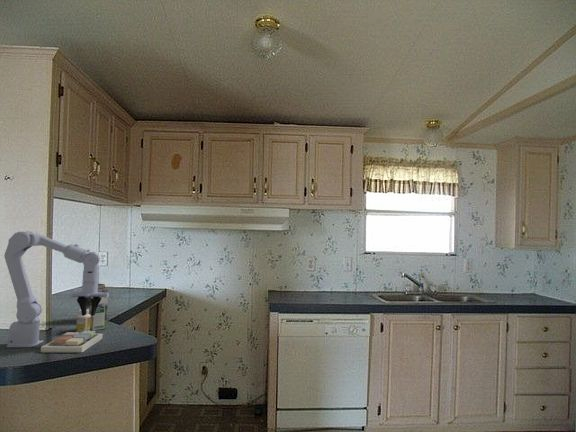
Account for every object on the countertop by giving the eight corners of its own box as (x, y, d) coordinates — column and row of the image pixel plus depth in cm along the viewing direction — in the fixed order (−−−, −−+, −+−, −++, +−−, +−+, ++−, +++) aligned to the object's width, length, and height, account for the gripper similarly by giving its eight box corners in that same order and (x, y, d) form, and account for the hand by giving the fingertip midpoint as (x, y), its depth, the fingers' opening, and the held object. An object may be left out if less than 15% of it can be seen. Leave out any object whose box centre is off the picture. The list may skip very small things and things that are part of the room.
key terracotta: (54, 343, 144) (54, 339, 144) (60, 340, 148) (60, 336, 148) (66, 344, 144) (66, 339, 144) (71, 340, 148) (72, 336, 148)
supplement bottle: (86, 329, 172) (87, 307, 173) (91, 331, 169) (93, 309, 169) (73, 331, 168) (75, 309, 168) (79, 334, 165) (80, 311, 165)
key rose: (61, 339, 149) (61, 335, 149) (67, 336, 154) (67, 332, 154) (73, 339, 150) (73, 335, 150) (78, 336, 154) (78, 332, 154)
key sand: (65, 346, 141) (65, 341, 141) (71, 342, 146) (71, 338, 146) (77, 346, 142) (78, 341, 142) (83, 342, 146) (83, 338, 146)
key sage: (79, 338, 152) (79, 333, 152) (84, 335, 157) (84, 330, 157) (90, 338, 153) (90, 333, 153) (95, 335, 157) (95, 330, 157)
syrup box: (92, 330, 171) (94, 298, 171) (89, 327, 175) (91, 296, 176) (106, 328, 174) (108, 297, 175) (102, 326, 179) (104, 295, 179)
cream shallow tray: (40, 352, 139) (40, 346, 139) (66, 338, 158) (66, 333, 158) (81, 352, 140) (82, 347, 140) (102, 338, 159) (102, 333, 159)
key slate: (72, 341, 147) (72, 337, 147) (77, 338, 151) (78, 334, 151) (84, 342, 147) (84, 337, 147) (89, 338, 152) (89, 334, 152)
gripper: (67, 282, 151) (65, 317, 151) (104, 283, 152) (102, 317, 152) (75, 280, 158) (73, 313, 158) (111, 281, 159) (109, 313, 159)
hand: (88, 315), depth 155 cm, fingers open, 3 cm apart
